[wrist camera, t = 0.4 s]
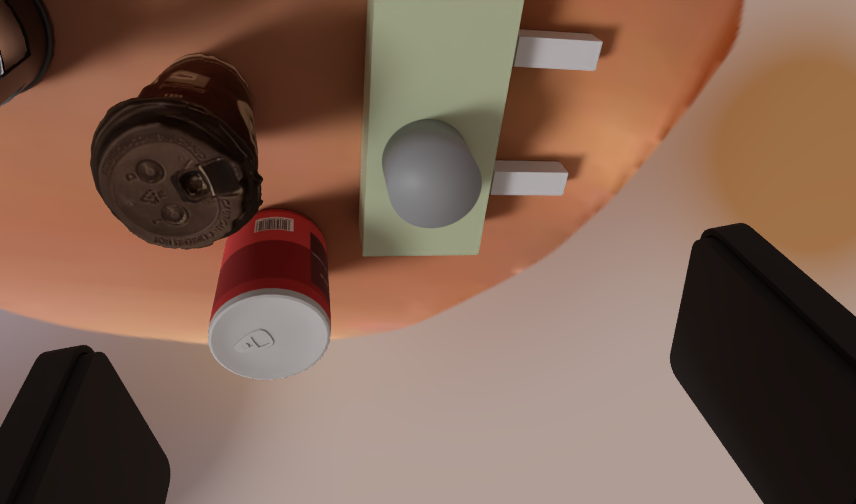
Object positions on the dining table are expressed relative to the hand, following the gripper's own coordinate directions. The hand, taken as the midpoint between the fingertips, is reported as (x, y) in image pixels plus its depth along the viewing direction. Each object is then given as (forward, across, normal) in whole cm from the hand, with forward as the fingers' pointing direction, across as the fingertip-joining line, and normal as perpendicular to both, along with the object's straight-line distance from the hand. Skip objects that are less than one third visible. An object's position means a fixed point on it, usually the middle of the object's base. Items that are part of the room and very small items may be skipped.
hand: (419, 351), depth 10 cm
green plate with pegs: (+34, -8, +10) cm, 36 cm away
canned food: (+34, +8, +19) cm, 40 cm away
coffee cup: (+34, +10, +7) cm, 36 cm away
